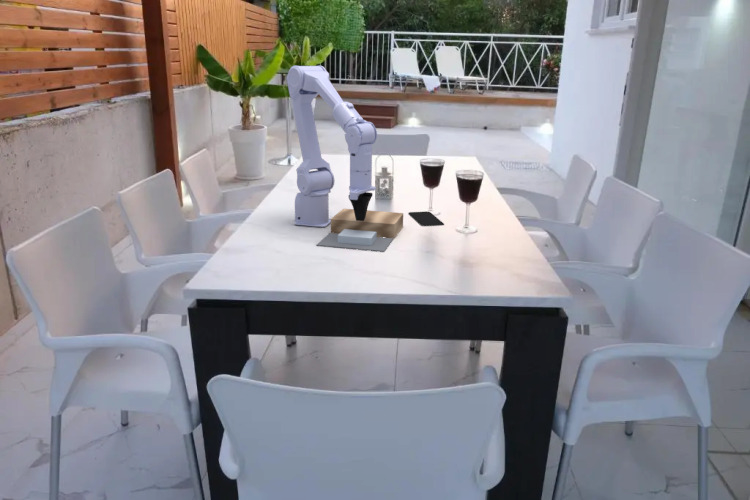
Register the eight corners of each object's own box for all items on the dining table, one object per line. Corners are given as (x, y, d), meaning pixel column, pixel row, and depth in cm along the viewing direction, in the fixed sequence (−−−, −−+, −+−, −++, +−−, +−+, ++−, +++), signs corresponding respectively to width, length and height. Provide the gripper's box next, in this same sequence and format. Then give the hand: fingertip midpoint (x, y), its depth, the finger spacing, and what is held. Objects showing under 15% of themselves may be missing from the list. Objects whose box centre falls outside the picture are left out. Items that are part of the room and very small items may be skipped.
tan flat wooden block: (330, 232, 164) (330, 218, 162) (343, 221, 175) (343, 208, 173) (394, 238, 159) (394, 224, 158) (402, 226, 171) (403, 213, 169)
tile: (344, 229, 159) (344, 236, 160) (337, 235, 154) (337, 242, 154) (376, 231, 157) (376, 238, 158) (371, 238, 152) (371, 245, 152)
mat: (316, 245, 152) (316, 244, 152) (329, 233, 163) (329, 232, 163) (384, 252, 148) (384, 250, 148) (393, 239, 159) (393, 238, 158)
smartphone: (421, 225, 171) (407, 212, 185) (421, 227, 171) (407, 214, 185) (445, 224, 172) (429, 211, 186) (445, 226, 173) (429, 213, 186)
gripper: (368, 176, 146) (368, 228, 151) (382, 166, 160) (381, 214, 164) (341, 174, 148) (341, 226, 152) (356, 164, 161) (356, 212, 166)
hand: (360, 220), depth 158 cm, fingers closed
